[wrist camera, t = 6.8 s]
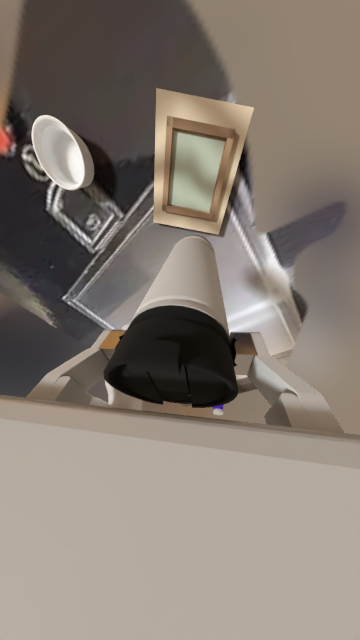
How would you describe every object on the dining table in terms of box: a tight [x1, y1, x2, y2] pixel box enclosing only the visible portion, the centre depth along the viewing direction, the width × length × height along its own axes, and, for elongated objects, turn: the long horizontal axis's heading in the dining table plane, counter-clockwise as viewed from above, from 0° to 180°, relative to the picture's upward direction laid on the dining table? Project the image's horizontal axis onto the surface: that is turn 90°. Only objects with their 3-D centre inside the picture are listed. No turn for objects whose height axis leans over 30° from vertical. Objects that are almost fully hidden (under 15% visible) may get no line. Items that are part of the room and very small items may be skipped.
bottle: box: [213, 404, 224, 415], centre depth 66 cm, size 7×6×17 cm
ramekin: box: [32, 115, 94, 190], centre depth 27 cm, size 9×9×4 cm
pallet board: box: [153, 88, 254, 235], centre depth 28 cm, size 17×15×2 cm
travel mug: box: [103, 235, 238, 408], centre depth 14 cm, size 6×7×20 cm
